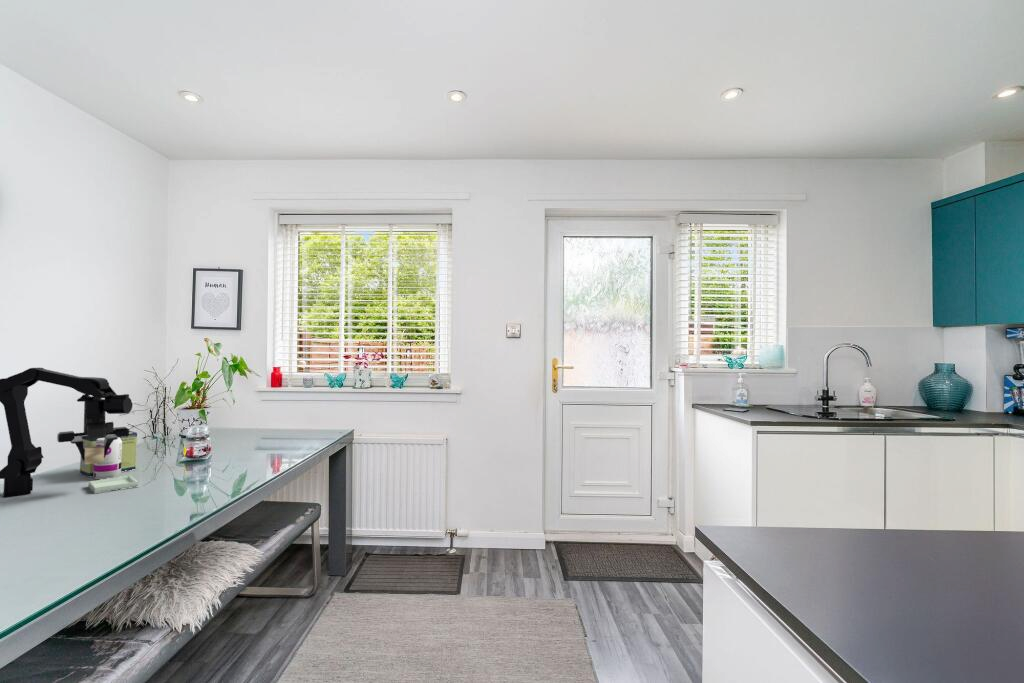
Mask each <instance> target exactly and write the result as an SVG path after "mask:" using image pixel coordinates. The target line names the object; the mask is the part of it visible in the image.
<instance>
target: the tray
mask: <svg viewBox="0 0 1024 683" xmlns="http://www.w3.org/2000/svg"><path fill="white" fill-rule="evenodd" d="M138 484H139V481H138V480H137V479H135V477H133V476H132V475H126V476H119V477H117V478H110V479H103V480H97V479H95V480H91V481H90V480H89V481H88V488H89V487H90V488H91V489H92V490H91V489H90V488H89V489H90V490H91V492H92V493H93V492H94V493H97V494H100V493H99V492H104V491H109V490H116V489H122V488H129V487H136V486H138ZM138 487H139V486H138ZM136 488H137V487H136ZM94 493H93V494H94ZM104 493H105V492H104Z"/></svg>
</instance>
